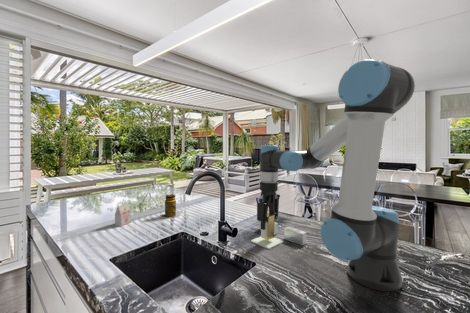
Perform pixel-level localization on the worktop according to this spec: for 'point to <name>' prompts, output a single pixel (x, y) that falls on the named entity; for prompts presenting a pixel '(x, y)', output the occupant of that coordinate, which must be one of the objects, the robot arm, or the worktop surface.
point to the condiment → (170, 207)
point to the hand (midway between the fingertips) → (267, 234)
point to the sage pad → (267, 242)
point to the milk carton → (122, 215)
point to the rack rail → (291, 234)
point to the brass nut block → (269, 226)
